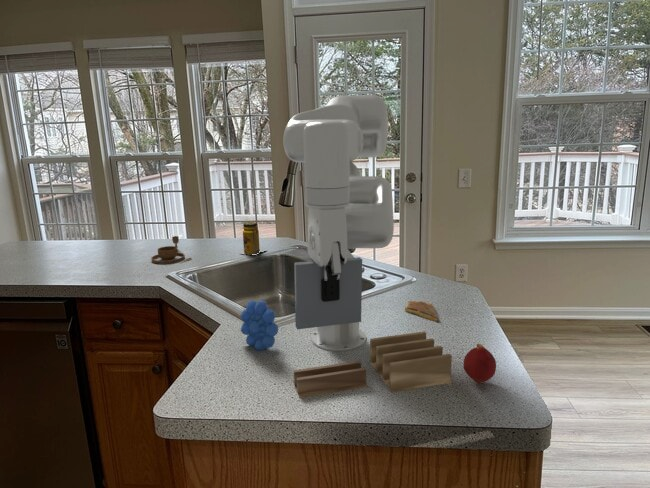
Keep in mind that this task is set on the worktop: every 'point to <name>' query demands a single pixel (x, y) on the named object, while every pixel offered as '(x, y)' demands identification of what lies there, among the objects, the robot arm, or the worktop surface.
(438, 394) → the worktop surface
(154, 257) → the place setting
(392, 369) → the rack
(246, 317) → the grapes
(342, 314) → the plate
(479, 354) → the onion
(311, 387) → the plate stand
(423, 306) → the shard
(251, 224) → the condiment
